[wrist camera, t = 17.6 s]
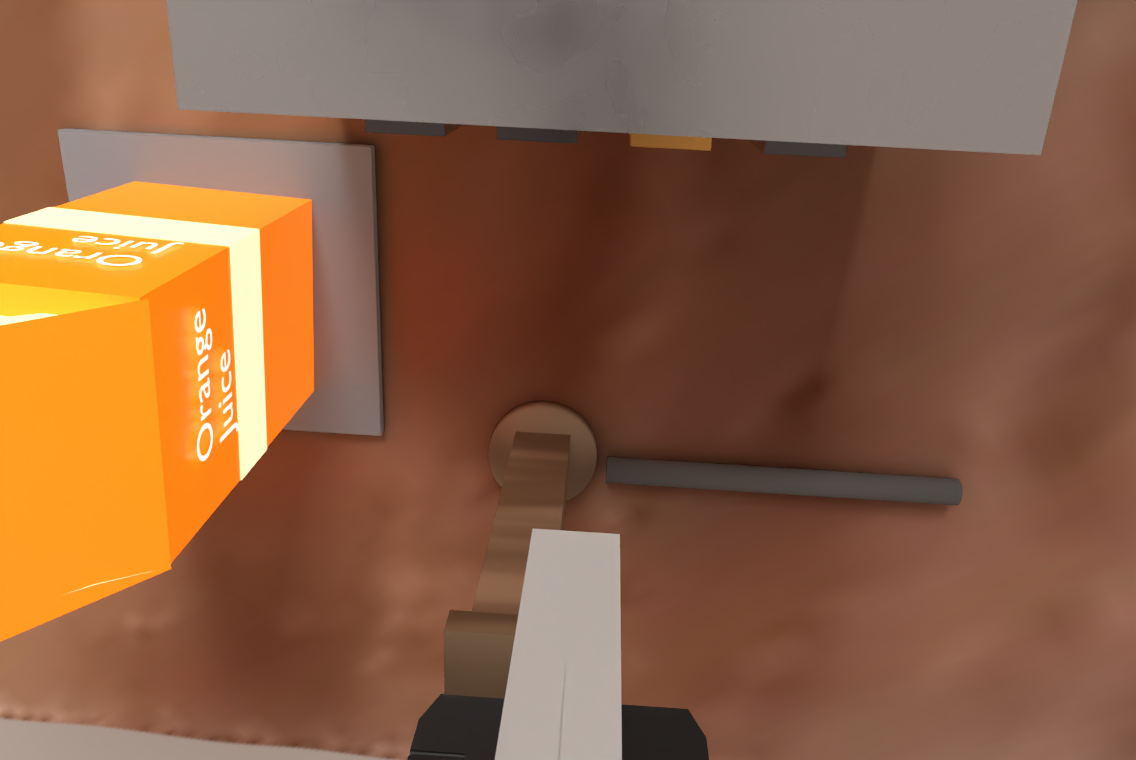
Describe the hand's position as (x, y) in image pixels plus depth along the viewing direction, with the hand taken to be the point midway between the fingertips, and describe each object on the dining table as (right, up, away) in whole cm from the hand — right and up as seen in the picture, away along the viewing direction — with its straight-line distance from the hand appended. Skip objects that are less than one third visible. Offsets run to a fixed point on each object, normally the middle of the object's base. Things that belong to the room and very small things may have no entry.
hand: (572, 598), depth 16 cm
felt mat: (-15, +8, +24) cm, 29 cm away
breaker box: (+2, +18, +19) cm, 26 cm away
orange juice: (-15, +8, +24) cm, 29 cm away
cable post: (-1, +1, +26) cm, 26 cm away
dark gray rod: (+10, -1, +26) cm, 28 cm away
